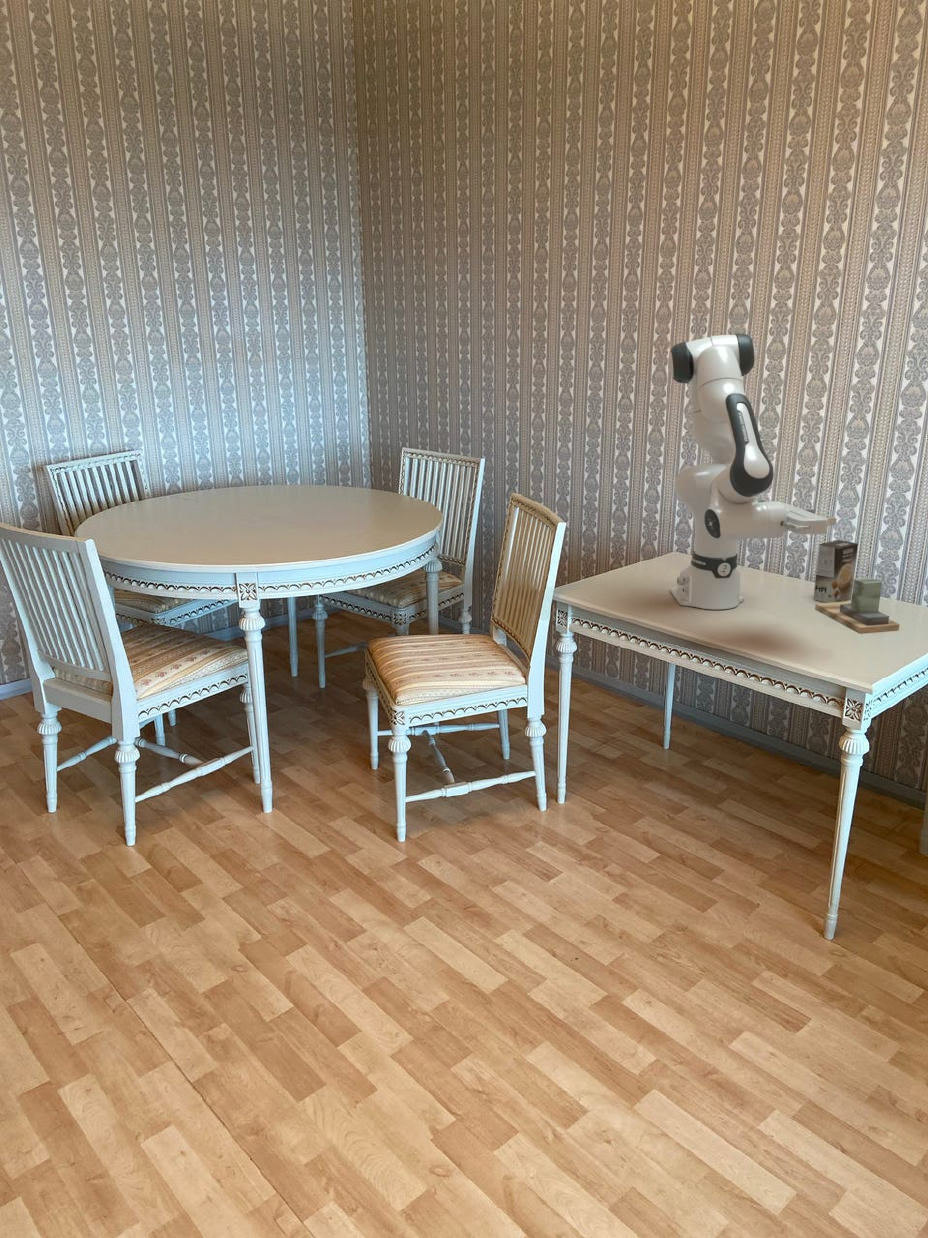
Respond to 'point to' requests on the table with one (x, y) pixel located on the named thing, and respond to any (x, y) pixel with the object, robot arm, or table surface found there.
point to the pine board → (834, 612)
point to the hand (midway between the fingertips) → (823, 516)
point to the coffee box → (835, 571)
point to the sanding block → (865, 602)
